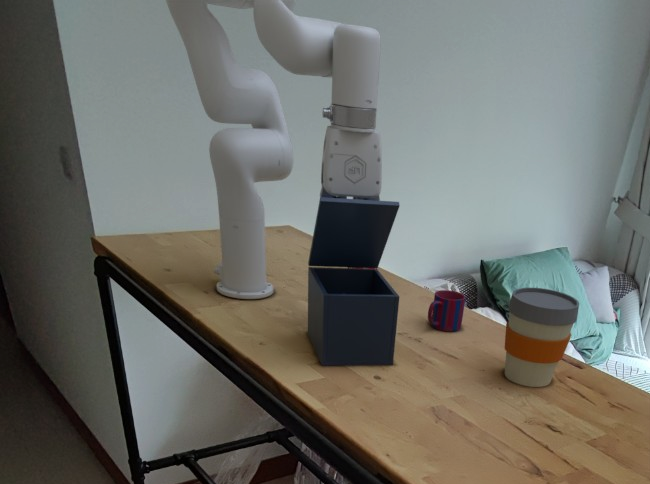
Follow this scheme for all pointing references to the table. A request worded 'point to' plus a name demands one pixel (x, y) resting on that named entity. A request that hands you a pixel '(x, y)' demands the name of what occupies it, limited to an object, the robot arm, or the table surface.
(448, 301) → the cup
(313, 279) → the chest
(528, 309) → the reusable coffee cup
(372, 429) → the table surface
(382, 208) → the chest lid
